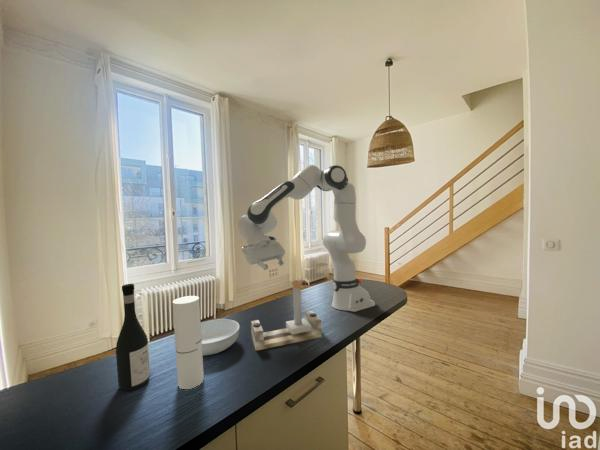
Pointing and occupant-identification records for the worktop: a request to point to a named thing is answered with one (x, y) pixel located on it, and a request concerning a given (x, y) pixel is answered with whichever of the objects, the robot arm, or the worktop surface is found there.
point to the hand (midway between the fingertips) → (274, 266)
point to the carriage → (297, 312)
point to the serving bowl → (218, 335)
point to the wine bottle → (131, 347)
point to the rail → (284, 333)
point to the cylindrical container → (188, 341)
